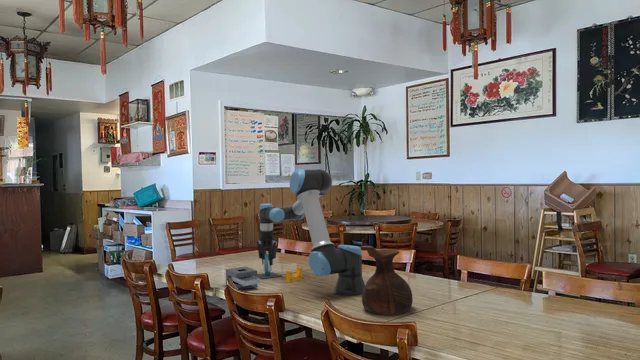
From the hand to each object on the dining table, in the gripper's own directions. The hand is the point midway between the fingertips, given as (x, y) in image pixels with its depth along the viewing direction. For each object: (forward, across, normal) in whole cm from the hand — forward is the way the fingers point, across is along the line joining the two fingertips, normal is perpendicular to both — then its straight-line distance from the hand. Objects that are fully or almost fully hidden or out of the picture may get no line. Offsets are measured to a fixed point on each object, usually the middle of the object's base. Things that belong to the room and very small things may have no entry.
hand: (267, 270), depth 284 cm
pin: (+3, 0, 0) cm, 3 cm away
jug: (+4, -86, +46) cm, 97 cm away
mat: (+3, 0, 0) cm, 3 cm away
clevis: (+3, 0, +26) cm, 26 cm away
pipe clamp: (+4, -19, +4) cm, 20 cm away
